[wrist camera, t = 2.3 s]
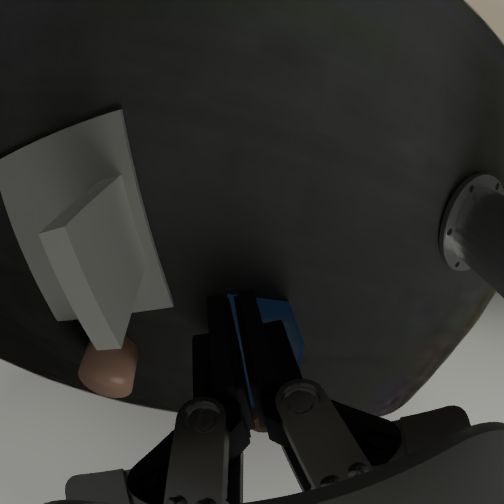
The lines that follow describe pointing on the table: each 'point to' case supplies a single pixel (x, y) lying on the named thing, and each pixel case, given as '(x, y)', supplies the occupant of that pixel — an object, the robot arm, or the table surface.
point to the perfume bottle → (270, 312)
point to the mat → (68, 191)
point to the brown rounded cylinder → (110, 369)
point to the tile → (98, 260)
